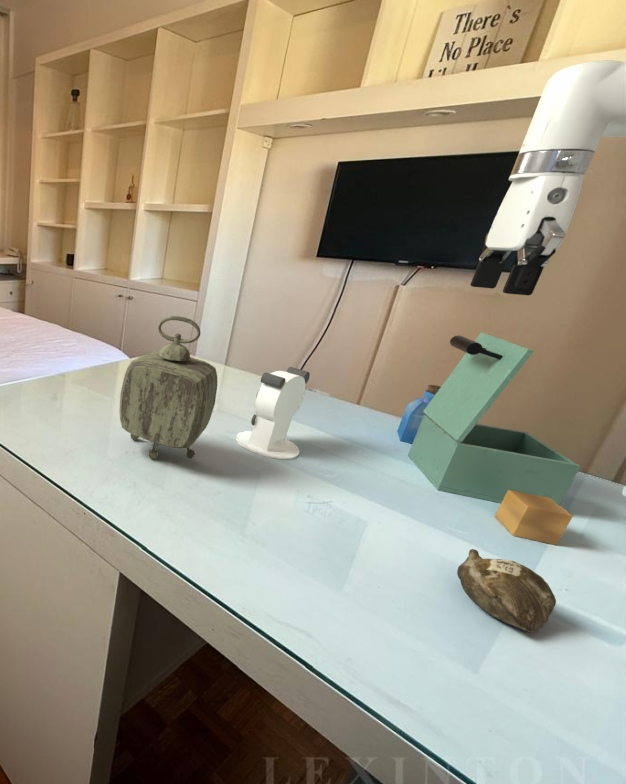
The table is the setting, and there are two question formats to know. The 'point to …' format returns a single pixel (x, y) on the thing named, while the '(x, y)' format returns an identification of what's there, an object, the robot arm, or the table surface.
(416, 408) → the perfume bottle
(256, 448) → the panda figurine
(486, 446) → the green storage box
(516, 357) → the lid
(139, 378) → the tabletop clock
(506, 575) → the fossilized seashell
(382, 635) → the table surface
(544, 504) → the block
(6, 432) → the table surface
